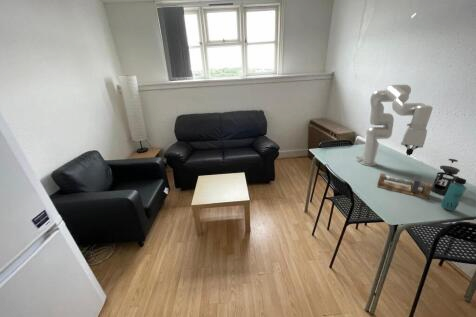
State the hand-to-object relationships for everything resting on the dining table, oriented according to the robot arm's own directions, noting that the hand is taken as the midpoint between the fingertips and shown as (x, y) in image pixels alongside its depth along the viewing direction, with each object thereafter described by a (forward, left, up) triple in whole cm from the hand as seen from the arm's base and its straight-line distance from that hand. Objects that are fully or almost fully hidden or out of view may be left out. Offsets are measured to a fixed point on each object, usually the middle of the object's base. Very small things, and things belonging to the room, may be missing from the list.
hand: (408, 154), depth 129 cm
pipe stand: (+2, 0, -25) cm, 25 cm away
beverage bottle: (+23, -12, -25) cm, 36 cm away
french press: (+23, +10, -25) cm, 35 cm away
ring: (+8, 0, -23) cm, 24 cm away
